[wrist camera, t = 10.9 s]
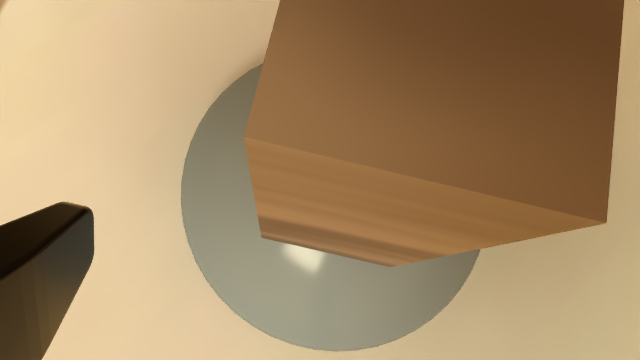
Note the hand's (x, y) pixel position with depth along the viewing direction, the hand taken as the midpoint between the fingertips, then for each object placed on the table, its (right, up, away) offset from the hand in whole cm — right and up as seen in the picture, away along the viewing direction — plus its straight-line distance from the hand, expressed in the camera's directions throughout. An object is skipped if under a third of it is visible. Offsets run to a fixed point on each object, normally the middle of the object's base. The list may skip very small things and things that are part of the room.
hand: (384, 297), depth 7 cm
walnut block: (0, +1, +12) cm, 12 cm away
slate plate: (0, +1, +13) cm, 13 cm away
